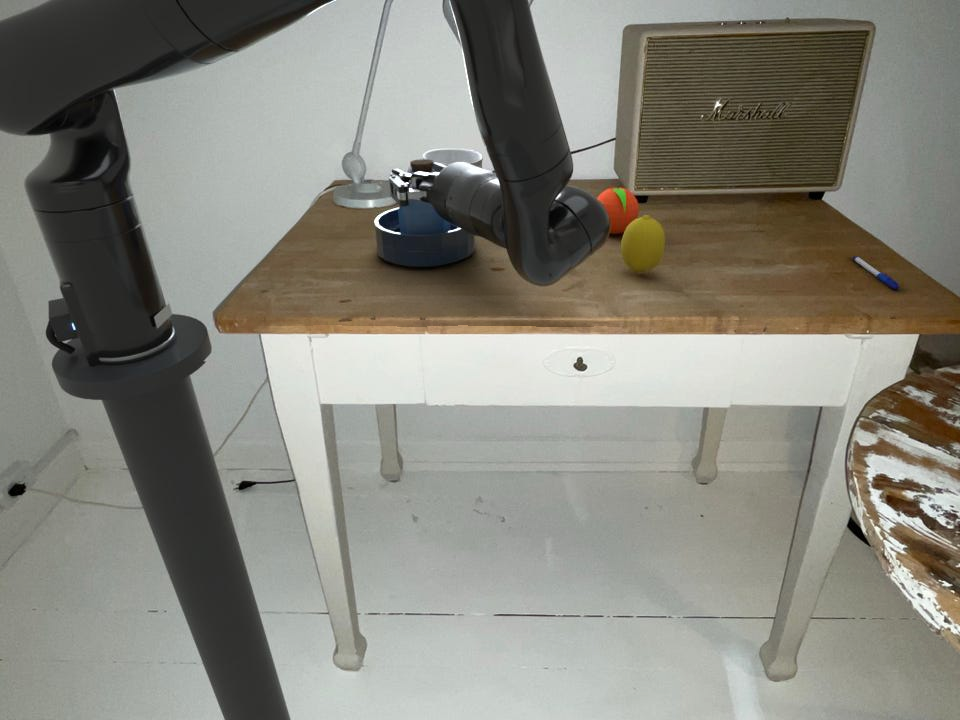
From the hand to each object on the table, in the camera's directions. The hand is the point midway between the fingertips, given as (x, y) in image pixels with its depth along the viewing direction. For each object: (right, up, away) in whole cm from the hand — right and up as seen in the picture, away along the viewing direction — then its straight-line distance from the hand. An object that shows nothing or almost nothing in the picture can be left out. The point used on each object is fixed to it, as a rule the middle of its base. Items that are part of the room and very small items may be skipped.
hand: (414, 173), depth 88 cm
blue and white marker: (+61, -15, -6) cm, 63 cm away
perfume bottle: (+1, -10, +3) cm, 11 cm away
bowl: (+1, -10, +4) cm, 11 cm away
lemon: (+30, -15, -5) cm, 34 cm away
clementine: (+30, -7, +9) cm, 32 cm away
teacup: (+3, +3, +27) cm, 27 cm away
